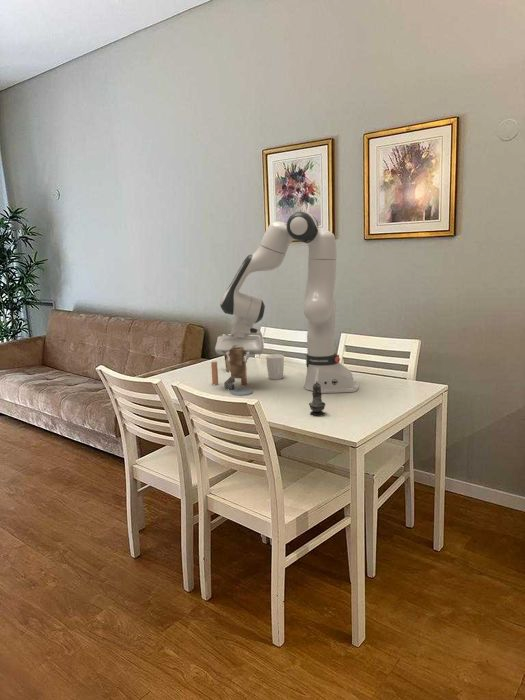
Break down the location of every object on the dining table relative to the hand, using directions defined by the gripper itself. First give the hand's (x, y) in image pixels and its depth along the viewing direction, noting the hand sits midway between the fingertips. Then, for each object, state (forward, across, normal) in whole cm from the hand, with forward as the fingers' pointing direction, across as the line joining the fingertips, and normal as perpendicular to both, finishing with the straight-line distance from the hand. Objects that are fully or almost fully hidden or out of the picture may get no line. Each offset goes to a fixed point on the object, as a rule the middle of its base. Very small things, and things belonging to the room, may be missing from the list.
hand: (237, 362), depth 214 cm
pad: (+10, +2, +8) cm, 13 cm away
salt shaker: (+26, +35, -8) cm, 45 cm away
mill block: (+4, 0, +5) cm, 6 cm away
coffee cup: (-17, -12, +35) cm, 40 cm away
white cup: (-8, +11, +26) cm, 29 cm away
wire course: (+2, -7, +16) cm, 17 cm away
